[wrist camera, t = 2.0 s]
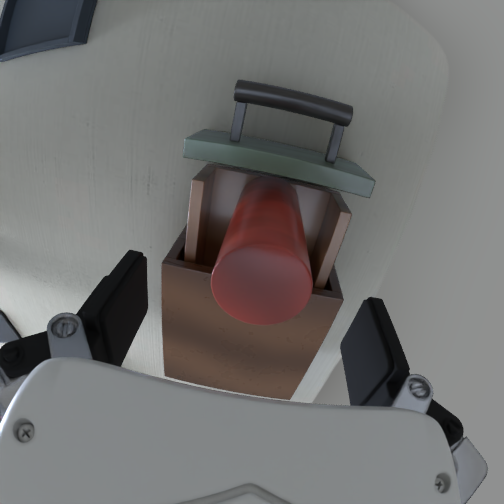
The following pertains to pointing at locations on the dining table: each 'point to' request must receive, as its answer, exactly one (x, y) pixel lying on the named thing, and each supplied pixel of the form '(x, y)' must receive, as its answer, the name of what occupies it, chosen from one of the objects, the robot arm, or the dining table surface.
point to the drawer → (275, 162)
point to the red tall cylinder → (264, 256)
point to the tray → (43, 25)
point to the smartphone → (7, 330)
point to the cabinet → (237, 334)
